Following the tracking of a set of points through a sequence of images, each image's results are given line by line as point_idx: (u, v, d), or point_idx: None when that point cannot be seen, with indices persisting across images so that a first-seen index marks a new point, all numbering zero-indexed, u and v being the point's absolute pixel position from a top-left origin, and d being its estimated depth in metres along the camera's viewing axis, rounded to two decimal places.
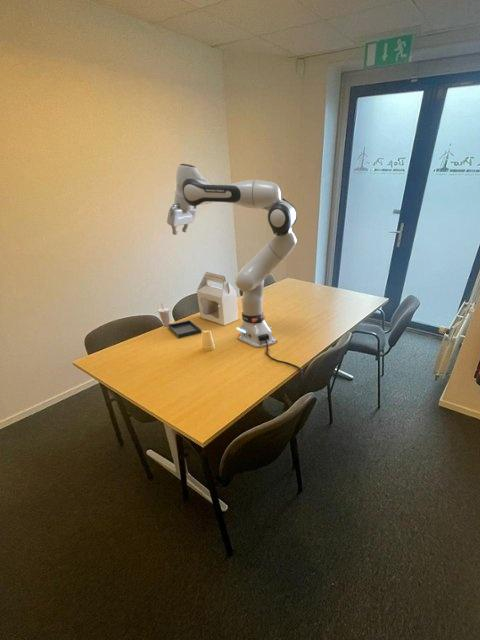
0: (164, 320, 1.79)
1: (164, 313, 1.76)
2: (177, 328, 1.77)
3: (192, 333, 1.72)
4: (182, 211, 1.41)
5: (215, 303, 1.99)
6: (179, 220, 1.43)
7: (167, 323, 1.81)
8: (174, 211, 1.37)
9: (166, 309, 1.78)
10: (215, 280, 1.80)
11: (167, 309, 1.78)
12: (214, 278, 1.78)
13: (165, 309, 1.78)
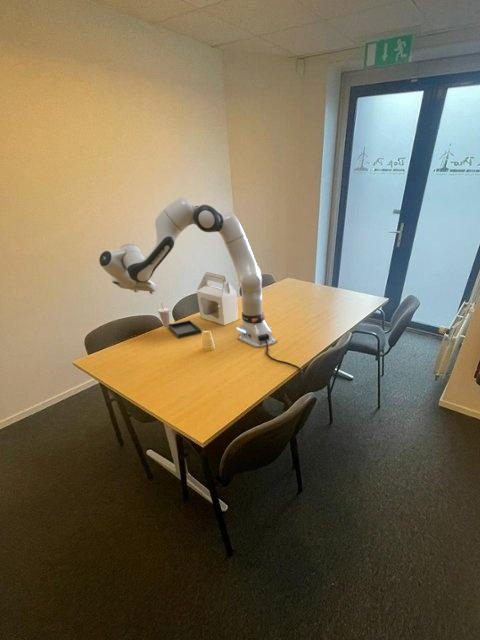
0: (164, 320, 1.79)
1: (164, 313, 1.76)
2: (177, 328, 1.77)
3: (192, 333, 1.72)
4: None
5: (215, 303, 1.99)
6: None
7: (167, 323, 1.81)
8: (148, 280, 1.47)
9: (166, 309, 1.78)
10: (215, 280, 1.80)
11: (167, 309, 1.78)
12: (214, 278, 1.78)
13: (165, 309, 1.78)
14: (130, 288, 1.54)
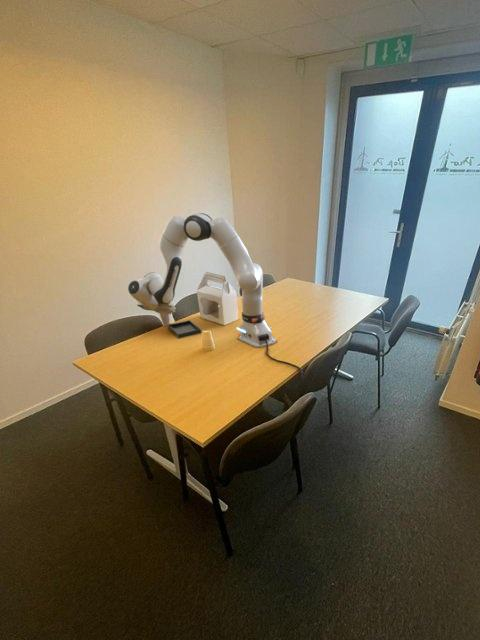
0: (164, 320, 1.79)
1: (164, 313, 1.76)
2: (177, 328, 1.77)
3: (192, 333, 1.72)
4: None
5: (215, 303, 1.99)
6: None
7: (167, 323, 1.81)
8: (169, 303, 1.67)
9: None
10: (215, 280, 1.80)
11: None
12: (214, 278, 1.78)
13: None
14: (152, 310, 1.74)
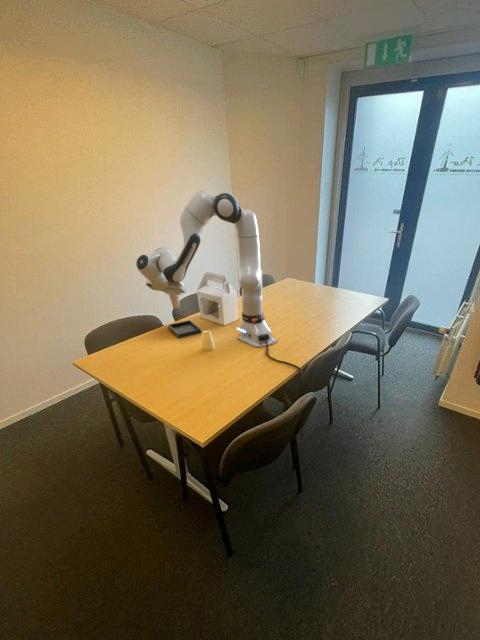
0: (174, 301, 1.67)
1: (174, 294, 1.64)
2: (177, 328, 1.77)
3: (192, 333, 1.72)
4: None
5: (215, 303, 1.99)
6: None
7: (177, 305, 1.69)
8: (179, 282, 1.55)
9: None
10: (215, 280, 1.80)
11: None
12: (214, 278, 1.78)
13: None
14: (161, 290, 1.61)
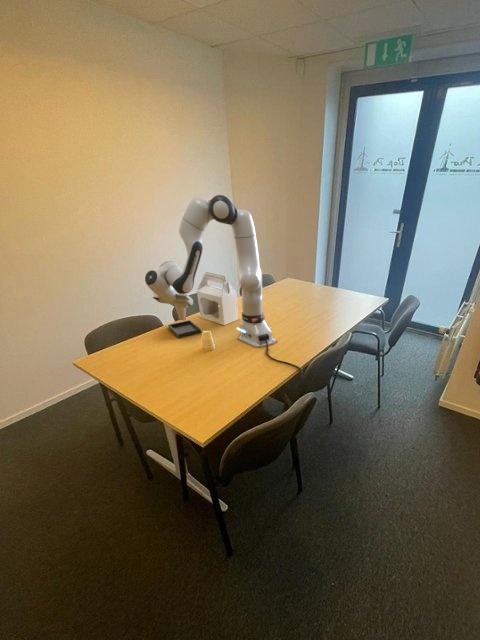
0: (180, 314, 1.69)
1: (181, 306, 1.66)
2: (177, 328, 1.77)
3: (192, 333, 1.72)
4: None
5: (215, 303, 1.99)
6: None
7: (183, 317, 1.71)
8: (186, 296, 1.57)
9: None
10: (215, 280, 1.80)
11: None
12: (214, 278, 1.78)
13: None
14: (168, 303, 1.63)
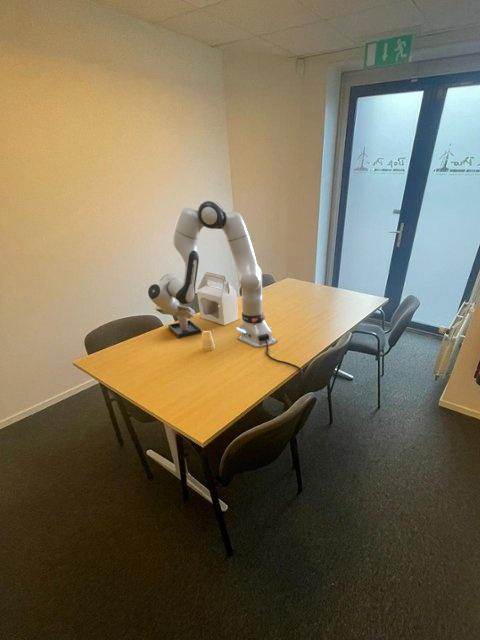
0: (182, 324, 1.72)
1: (182, 317, 1.70)
2: (177, 328, 1.77)
3: (192, 333, 1.72)
4: None
5: (215, 303, 1.99)
6: None
7: (185, 327, 1.74)
8: None
9: None
10: (215, 280, 1.80)
11: None
12: (214, 278, 1.78)
13: None
14: None
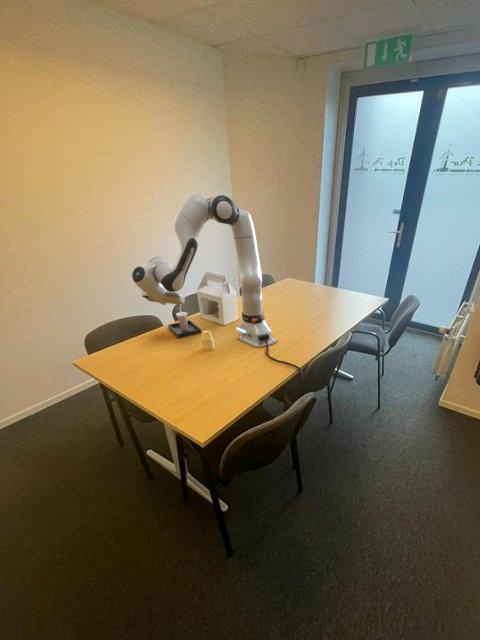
0: (182, 324, 1.72)
1: (182, 317, 1.70)
2: (177, 328, 1.77)
3: (192, 333, 1.72)
4: None
5: (215, 303, 1.99)
6: None
7: (185, 327, 1.74)
8: (177, 293, 1.48)
9: (184, 313, 1.72)
10: (215, 280, 1.80)
11: (185, 313, 1.72)
12: (214, 278, 1.78)
13: (183, 313, 1.71)
14: (159, 301, 1.55)
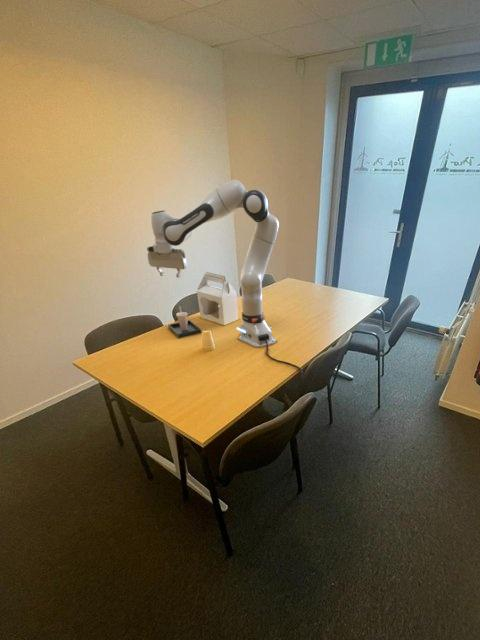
0: (182, 324, 1.72)
1: (182, 317, 1.70)
2: (177, 328, 1.77)
3: (192, 333, 1.72)
4: None
5: (215, 303, 1.99)
6: None
7: (185, 327, 1.74)
8: None
9: (184, 313, 1.72)
10: (215, 280, 1.80)
11: (185, 313, 1.72)
12: (214, 278, 1.78)
13: (183, 313, 1.71)
14: (159, 264, 1.52)
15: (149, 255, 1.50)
